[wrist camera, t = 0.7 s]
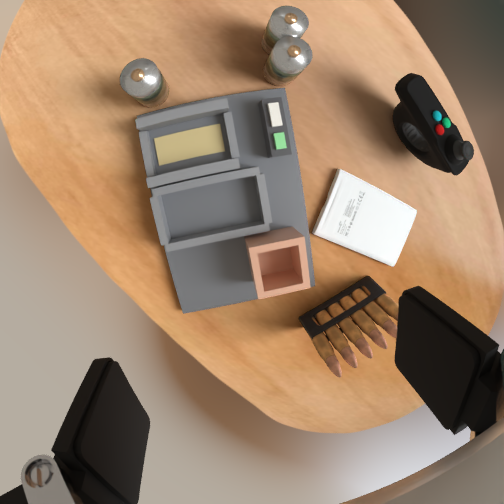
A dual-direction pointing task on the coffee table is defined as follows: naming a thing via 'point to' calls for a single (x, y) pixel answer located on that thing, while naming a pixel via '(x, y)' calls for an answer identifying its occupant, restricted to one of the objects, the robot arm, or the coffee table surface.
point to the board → (221, 189)
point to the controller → (428, 127)
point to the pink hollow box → (278, 262)
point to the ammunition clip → (351, 322)
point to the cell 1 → (144, 82)
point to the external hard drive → (364, 219)
